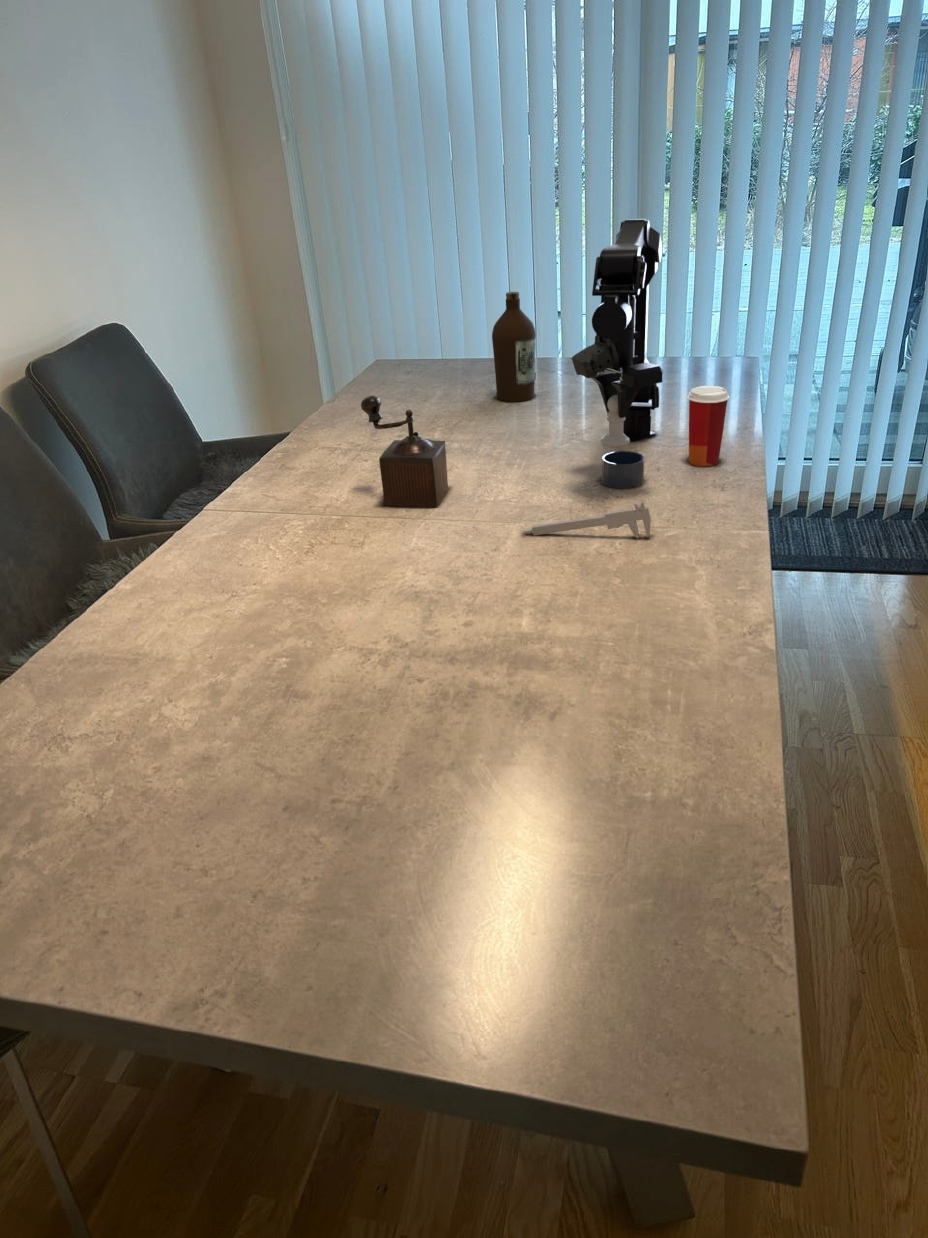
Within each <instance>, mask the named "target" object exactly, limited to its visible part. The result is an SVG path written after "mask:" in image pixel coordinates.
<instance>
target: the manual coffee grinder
mask: <svg viewBox="0 0 928 1238" xmlns="http://www.w3.org/2000/svg"><path fill="white" fill-rule="evenodd" d="M381 405H382V401H381V398H380V397H378V396H376V395H369V396H365V397H364V398H363V399H362V400H361V402H360V408H361V410H362V411H363V412H364V413H365V414H366V415H368V423H372V424H373V428H374V429H376V430H387V429H388V430H389V429H392V428H393V429H395V428H399V427H402V426H404V425H407V430H408V435H406V436H405V437H404V438H403V439H398V440H397V439H394V440H393V441H392V442H391V444H390V445H389V446H388V447H387V448H386V449H385V450H384V451H383V452H382V454H381V455H380V456H379V458H378V461H379V470H380V478H381V479H380V480H381V486H382V487H381V488H382V497H383V505H384V506H385V507H391V508H392V507H393V508H438V506H439V505H440V504H441V503H442V501H443V499H444V498H445V496H446V495H447V493H448V491H449V490H450V489H449V483H448V481H449V480H448V466H447V465H448V464H447V463H448V462H447V450H446V440H432V439H429V438H425V437H421V436H419V432H417V431H415V432H414V424H413V423H414V421H415V418H414V417H413V415H414V413H413V410H411V409H407V410H406V411H405V413H404V414H405V415H406V418H405V419H404V420H400V421H395V422H389V423H383V424H379V423H380V422H381V421H382V419H384V417H383V415H382V414H381V413H380V410H381Z"/></svg>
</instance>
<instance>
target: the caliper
mask: <svg viewBox="0 0 928 1238" xmlns="http://www.w3.org/2000/svg"><path fill="white" fill-rule="evenodd" d="M633 505H634V508H633V507H630V508H624V509H618V510H611V511H606V512H605V513H604V514H602V515H593V516H588V517H581V518H574V519H566V520H560V521H554V522H553V521H552V522H546V523H540V524H533V525H532V527H531V528H527V529H526V530H525V531H524V534H526V535H528V534H532V535H533V536H541V535H548V534H555V533H560V532H567V531H575V530H582V529H588V528H589V529H590V528H595V527H602V526H606V527H607V529H608V530H612V529H614V528H615V529H619V528H620V527H623V526H624V525H627V526H628V527H629V529H630V530H631V532H632V534H633V535H634V537H635V538H636V539H639V538H640V533H639V526H638V521H642V524H643V527H644V531H645V536H646V538H649V537H650V536H651V524H652V517H651V512H650V509H649V506H645V504H644V500H641V502H640V504H638V502H637V501H634V503H633Z"/></svg>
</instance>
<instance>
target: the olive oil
mask: <svg viewBox="0 0 928 1238" xmlns="http://www.w3.org/2000/svg"><path fill="white" fill-rule="evenodd" d="M536 334H537V333H536V329H535V326H534V323H533V322H532V320H531V319H530V318H529V317H528V316H527V315H526V314H525V313H524V312H523V311H522V309H521V298H520V292H519V291H508V292H506V293H505V310H504V312H503V313H501V315H500V316H499V318H498V319H497V320H496V322H495V323H494V325H493V328H492V332H491V341H492V351H493V353H492V354H493V361H494V363H493V364H494V373H495V374H494V375H495V386H496V387H495V389H496V398H497V400H499V401H502V402H507V403H518V402H526V401H528V400H532V399H533V398H534V397H535V381H536V379H537V373H536V342H537V335H536Z"/></svg>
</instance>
